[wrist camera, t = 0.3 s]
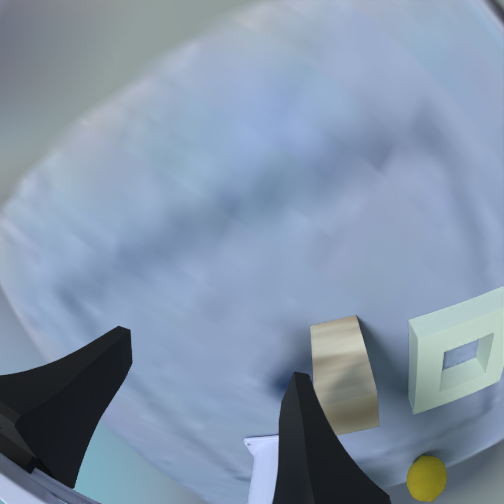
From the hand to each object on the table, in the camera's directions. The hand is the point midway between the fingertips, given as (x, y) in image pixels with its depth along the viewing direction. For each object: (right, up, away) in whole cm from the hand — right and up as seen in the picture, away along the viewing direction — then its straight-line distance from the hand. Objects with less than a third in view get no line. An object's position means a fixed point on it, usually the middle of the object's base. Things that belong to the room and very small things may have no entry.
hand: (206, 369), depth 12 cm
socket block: (+21, -4, +10) cm, 23 cm away
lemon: (+25, -23, +17) cm, 38 cm away
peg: (+9, -2, +11) cm, 14 cm away
